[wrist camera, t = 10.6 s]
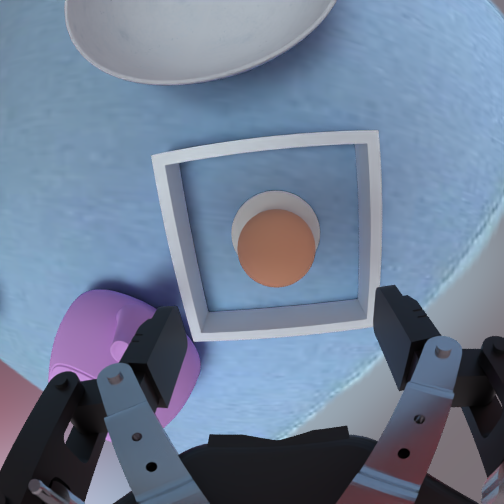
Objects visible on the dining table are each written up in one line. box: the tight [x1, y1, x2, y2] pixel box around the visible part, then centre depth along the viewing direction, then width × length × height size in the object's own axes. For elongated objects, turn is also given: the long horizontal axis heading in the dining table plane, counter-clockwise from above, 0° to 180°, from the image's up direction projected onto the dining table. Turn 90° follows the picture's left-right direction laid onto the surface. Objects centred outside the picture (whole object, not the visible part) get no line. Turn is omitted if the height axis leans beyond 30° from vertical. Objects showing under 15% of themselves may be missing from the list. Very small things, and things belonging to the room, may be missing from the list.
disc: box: [231, 190, 320, 255], centre depth 22 cm, size 6×6×1 cm
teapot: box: [48, 290, 201, 442], centre depth 22 cm, size 13×20×11 cm
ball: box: [237, 209, 316, 287], centre depth 20 cm, size 5×5×5 cm
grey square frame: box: [151, 130, 382, 342], centre depth 21 cm, size 14×14×3 cm
